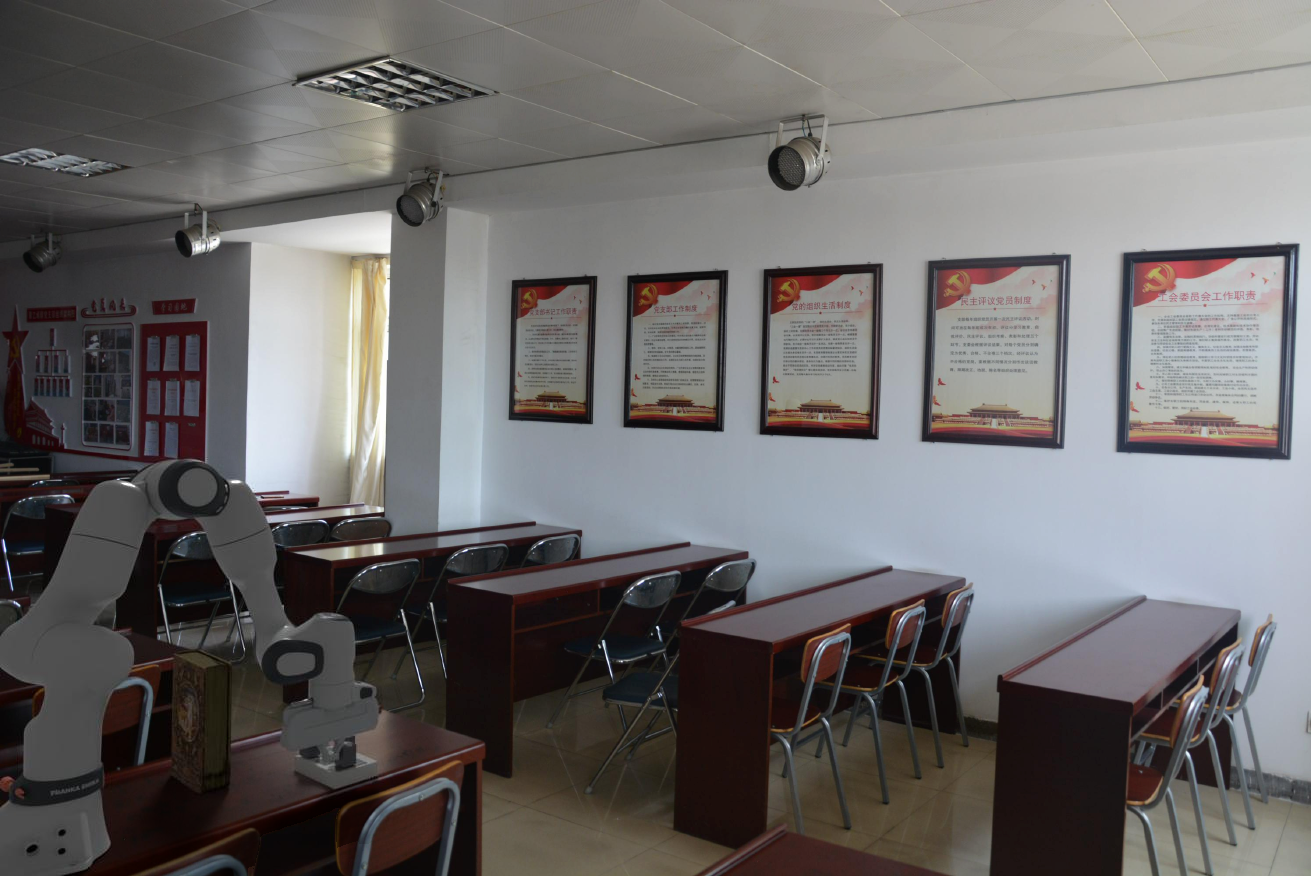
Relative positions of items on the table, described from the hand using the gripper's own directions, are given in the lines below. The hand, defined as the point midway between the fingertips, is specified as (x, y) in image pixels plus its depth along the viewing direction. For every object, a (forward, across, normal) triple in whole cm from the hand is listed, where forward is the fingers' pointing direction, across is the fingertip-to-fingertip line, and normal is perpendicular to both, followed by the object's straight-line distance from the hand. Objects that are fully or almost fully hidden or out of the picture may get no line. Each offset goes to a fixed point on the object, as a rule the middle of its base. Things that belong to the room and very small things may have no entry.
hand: (330, 761), depth 192 cm
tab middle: (+1, +6, +5) cm, 8 cm away
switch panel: (+5, +4, +5) cm, 8 cm away
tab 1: (+1, +1, +10) cm, 10 cm away
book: (+5, -17, +21) cm, 27 cm away
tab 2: (+1, +3, 0) cm, 4 cm away
